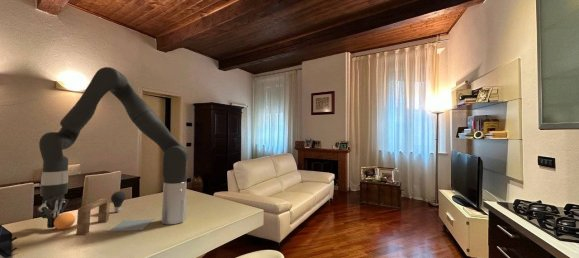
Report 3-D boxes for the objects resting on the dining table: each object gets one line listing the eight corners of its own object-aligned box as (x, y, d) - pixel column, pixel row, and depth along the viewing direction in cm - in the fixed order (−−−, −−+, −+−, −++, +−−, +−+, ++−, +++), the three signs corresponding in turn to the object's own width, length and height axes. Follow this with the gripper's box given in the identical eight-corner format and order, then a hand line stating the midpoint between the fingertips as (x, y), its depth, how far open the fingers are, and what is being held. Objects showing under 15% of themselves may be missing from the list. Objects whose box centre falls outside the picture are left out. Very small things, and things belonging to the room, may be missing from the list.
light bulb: (116, 214, 108) (118, 193, 108) (107, 213, 109) (108, 192, 109) (127, 210, 113) (128, 190, 114) (118, 210, 114) (119, 189, 115)
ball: (60, 225, 92) (77, 226, 93) (47, 231, 86) (66, 232, 87) (63, 210, 92) (80, 211, 93) (51, 215, 86) (69, 216, 87)
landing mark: (153, 219, 102) (153, 219, 102) (142, 230, 90) (142, 229, 90) (123, 221, 99) (123, 220, 99) (107, 231, 87) (107, 231, 87)
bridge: (108, 220, 99) (110, 198, 100) (85, 234, 85) (87, 208, 85) (100, 221, 99) (102, 198, 99) (76, 235, 84) (78, 208, 84)
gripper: (52, 185, 84) (49, 233, 83) (77, 179, 97) (75, 220, 96) (27, 186, 82) (24, 234, 82) (56, 180, 95) (54, 222, 94)
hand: (52, 227), depth 89 cm, fingers closed
